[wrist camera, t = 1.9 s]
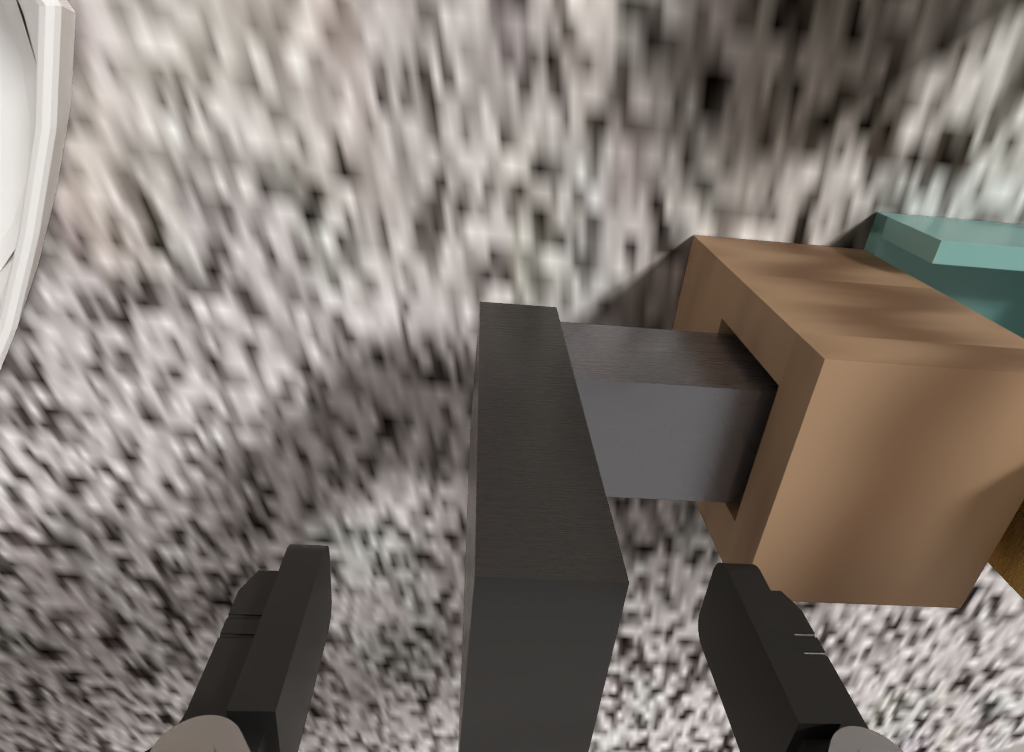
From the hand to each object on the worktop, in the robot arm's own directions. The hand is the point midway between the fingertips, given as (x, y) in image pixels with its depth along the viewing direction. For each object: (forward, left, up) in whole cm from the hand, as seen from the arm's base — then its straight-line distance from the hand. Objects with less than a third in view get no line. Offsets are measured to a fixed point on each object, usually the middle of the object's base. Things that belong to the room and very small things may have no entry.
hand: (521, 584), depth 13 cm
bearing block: (-11, 0, -15) cm, 18 cm away
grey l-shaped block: (-9, 0, -10) cm, 14 cm away
